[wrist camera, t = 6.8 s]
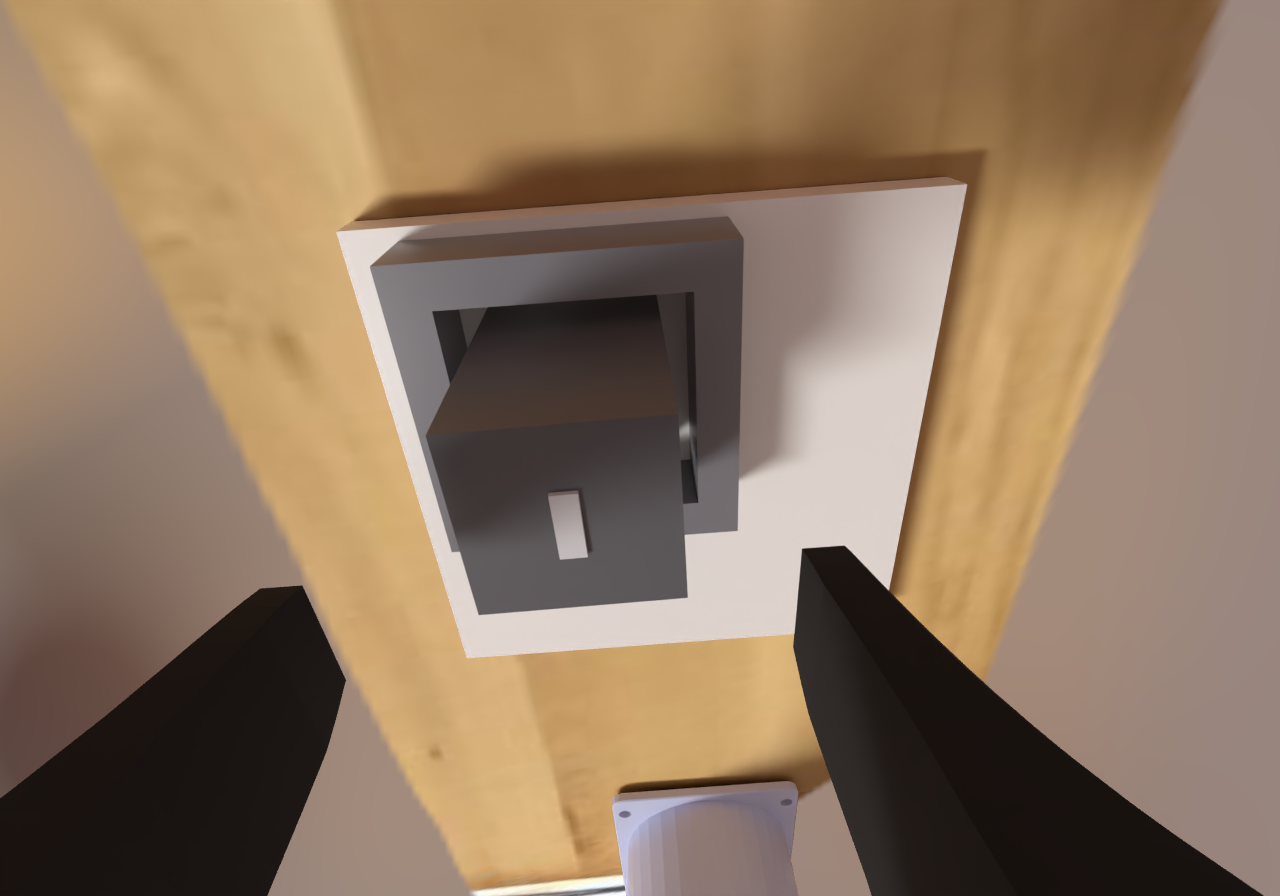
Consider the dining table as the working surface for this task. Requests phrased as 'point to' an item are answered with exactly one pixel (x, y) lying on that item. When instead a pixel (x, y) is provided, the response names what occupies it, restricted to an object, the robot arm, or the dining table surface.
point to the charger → (564, 457)
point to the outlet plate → (696, 375)
